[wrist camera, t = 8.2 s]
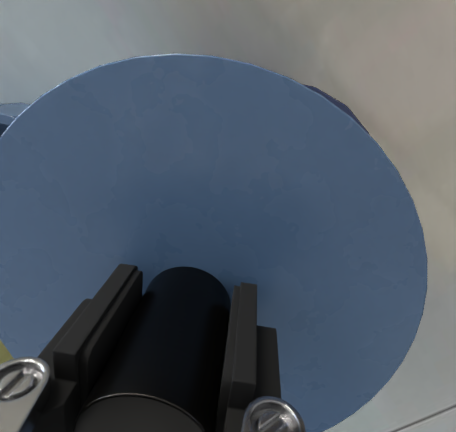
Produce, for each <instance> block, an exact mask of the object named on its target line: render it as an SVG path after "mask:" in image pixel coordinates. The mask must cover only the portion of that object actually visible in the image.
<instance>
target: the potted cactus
mask: <svg viewBox="0 0 456 432" xmlns="http://www.w3.org/2000/svg"><path fill="white" fill-rule="evenodd" d="M11 359H14V358H13V357H12V356H11V354H10V353H9V351H8V350H7V348H6V347H5V346H4V344H3V343H2V341H1V340H0V364H2V363H4V362H6V361H9V360H11Z"/></svg>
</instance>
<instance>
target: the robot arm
mask: <svg viewBox="0 0 456 432" xmlns="http://www.w3.org/2000/svg"><path fill="white" fill-rule="evenodd" d="M142 288H143V272H142V271H138V267H137V266H134V265H128V264H119V265H118V266H117V268H116V269H115V270H114V271H113V273H112V274H111V275H110V277H109V278H108V279H107V281H106V282H105V283H104V284H103V286H102V287H101V288H100V290H99V291H98V292H97V293H96V295H95V296H94V297H93V299H89V298H87V299H85V300H84V301H82V302H81V304H80V305H79V306H78V307H77V309H76V310H75V311H74V312H73V314H72V315H71V316H70V317H69V319H68V320H67V321H66V322H65V323H64V325H63V326H62V327H61V328H60V330H59V331H58V332H57V333H56V335H55V336H54V337H53V338H52V339H51V341H50V342H49V343H48V344H47V346H46V347H45V348H44V349H43V351H42V352H41V353H40V354H39V356H38V357H32V356H29V357H19V358H15V359H11V360H9V361H6V362H4V363H2V364H0V432H74V424H75V420H76V418H77V416H78V414H79V412H80V410H81V408H82V406H83V405H84V403H85V401H86V399H87V397H88V396H89V394H90V392H91V390H92V388H93V386H94V385H95V383H96V381H97V379H98V377H99V375H100V374H101V372H102V370H103V368H104V366H105V364H106V363H107V361H108V359H109V357H110V355H111V353H112V352H113V350H114V348H115V346H116V344H117V342H118V341H119V339H120V337H121V335H122V333H123V331H124V330H125V328H126V326H127V324H128V322H129V320H130V319H131V317H132V315H133V313H134V311H135V310H136V308H137V306H138V304H139V302H140V300H141V299H142ZM215 432H306V431H305V425H304V421H303V419H302V418H301V416H300V414H299V412H298V411H297V410H296V409H295V408H294V407H293V406H292V405H291V404H289V403H288V402H286V401H285V400H283V399H281V385H280V371H279V357H278V343H277V331H276V328H271V327H264V326H258V325H257V284H250V283H244V282H241V285H240V286H235V285H234V289H233V296H232V302H231V308H230V315H229V322H228V330H227V338H226V346H225V354H224V362H223V369H222V377H221V385H220V393H219V401H218V408H217V416H216V429H215Z"/></svg>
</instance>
